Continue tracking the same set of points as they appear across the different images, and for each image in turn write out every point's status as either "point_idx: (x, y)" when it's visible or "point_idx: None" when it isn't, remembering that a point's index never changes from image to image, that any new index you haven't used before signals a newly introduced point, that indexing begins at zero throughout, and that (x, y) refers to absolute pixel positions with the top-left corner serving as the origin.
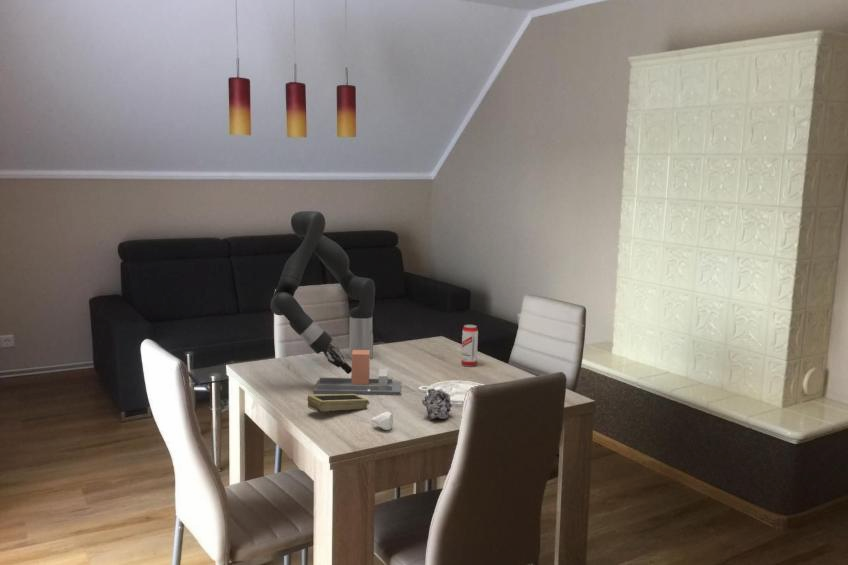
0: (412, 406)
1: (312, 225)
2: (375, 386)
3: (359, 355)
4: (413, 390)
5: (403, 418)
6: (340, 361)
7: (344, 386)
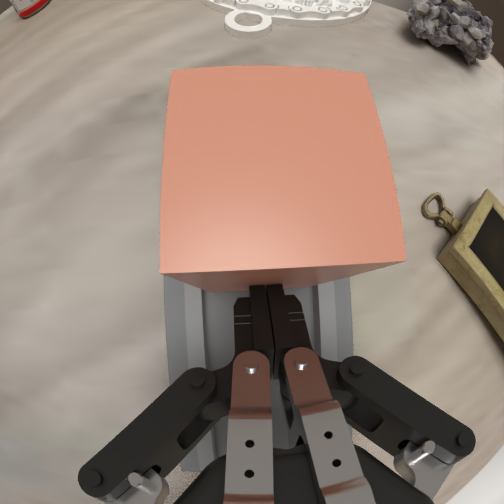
0: (408, 71)
1: None
2: None
3: (385, 168)
4: (248, 49)
5: (487, 112)
6: (392, 380)
7: (333, 322)
